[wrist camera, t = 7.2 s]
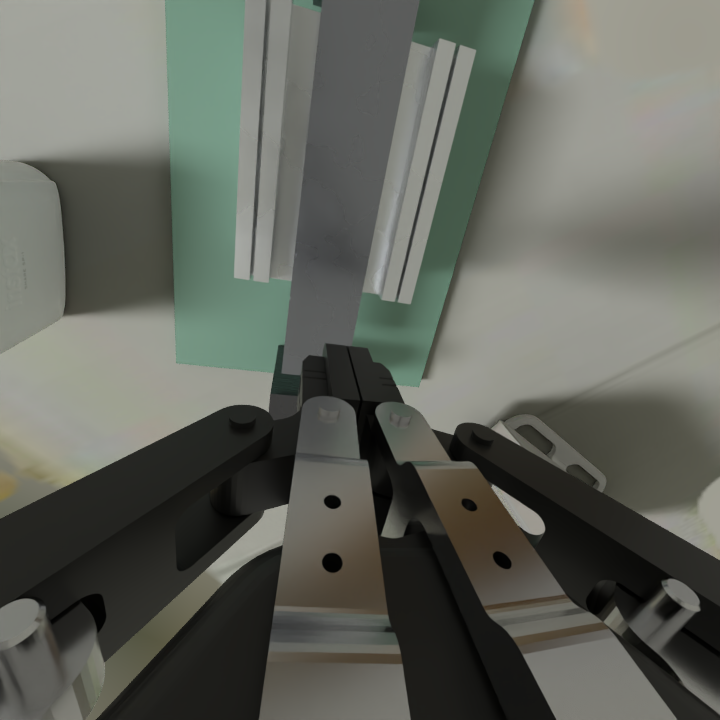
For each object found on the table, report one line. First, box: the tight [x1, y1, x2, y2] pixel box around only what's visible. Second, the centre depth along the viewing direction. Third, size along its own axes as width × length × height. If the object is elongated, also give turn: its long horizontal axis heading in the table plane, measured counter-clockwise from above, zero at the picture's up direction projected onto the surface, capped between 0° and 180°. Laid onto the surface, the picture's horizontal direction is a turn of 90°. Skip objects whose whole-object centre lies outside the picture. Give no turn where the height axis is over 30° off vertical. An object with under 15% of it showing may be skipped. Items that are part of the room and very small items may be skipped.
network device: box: [491, 414, 606, 535], centre depth 31 cm, size 26×9×20 cm, turn 49°
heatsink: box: [234, 0, 476, 420], centre depth 21 cm, size 24×10×7 cm, turn 169°
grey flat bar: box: [281, 0, 420, 375], centre depth 18 cm, size 21×4×1 cm, turn 169°
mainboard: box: [165, 0, 534, 387], centre depth 24 cm, size 28×20×1 cm
